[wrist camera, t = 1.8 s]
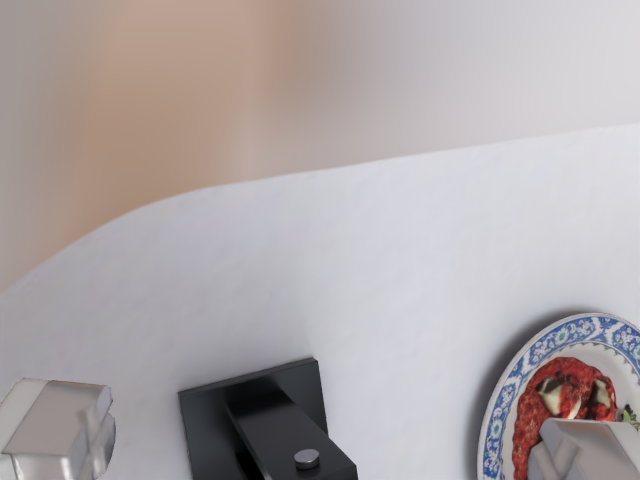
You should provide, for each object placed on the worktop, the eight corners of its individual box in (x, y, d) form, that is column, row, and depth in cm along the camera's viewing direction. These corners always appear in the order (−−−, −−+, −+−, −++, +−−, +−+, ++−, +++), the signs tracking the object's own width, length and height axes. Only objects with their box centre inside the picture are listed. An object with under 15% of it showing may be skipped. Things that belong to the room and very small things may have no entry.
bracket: (194, 492, 40) (236, 634, 27) (177, 392, 40) (211, 485, 26) (326, 448, 44) (422, 553, 31) (312, 356, 44) (405, 421, 30)
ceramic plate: (429, 542, 48) (448, 562, 46) (510, 276, 51) (533, 280, 48) (617, 571, 58) (643, 589, 55) (679, 345, 60) (706, 351, 57)
